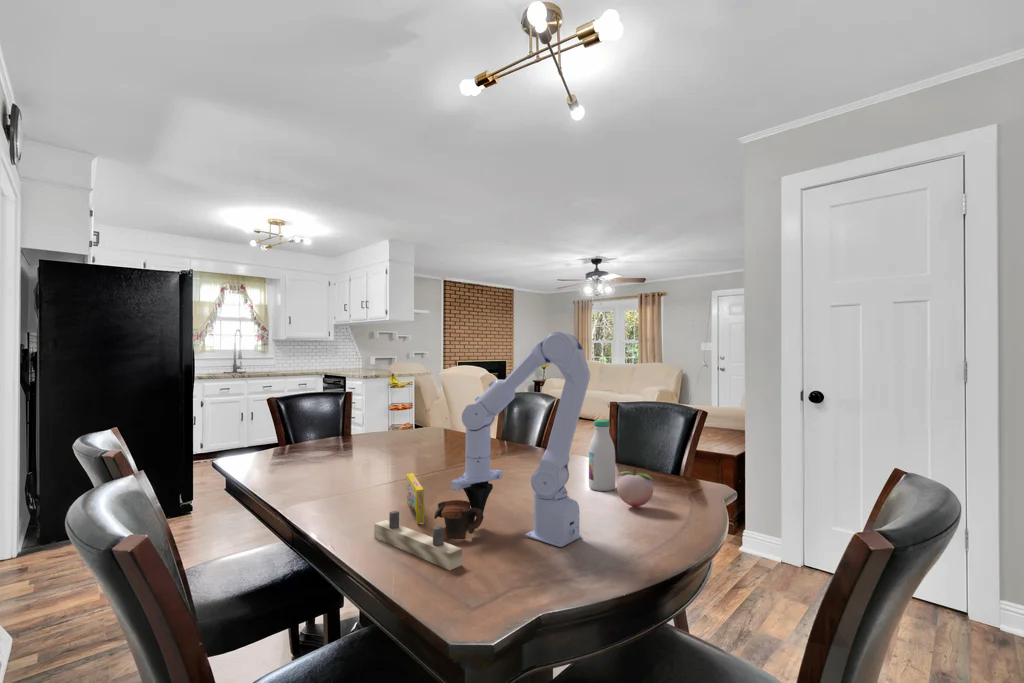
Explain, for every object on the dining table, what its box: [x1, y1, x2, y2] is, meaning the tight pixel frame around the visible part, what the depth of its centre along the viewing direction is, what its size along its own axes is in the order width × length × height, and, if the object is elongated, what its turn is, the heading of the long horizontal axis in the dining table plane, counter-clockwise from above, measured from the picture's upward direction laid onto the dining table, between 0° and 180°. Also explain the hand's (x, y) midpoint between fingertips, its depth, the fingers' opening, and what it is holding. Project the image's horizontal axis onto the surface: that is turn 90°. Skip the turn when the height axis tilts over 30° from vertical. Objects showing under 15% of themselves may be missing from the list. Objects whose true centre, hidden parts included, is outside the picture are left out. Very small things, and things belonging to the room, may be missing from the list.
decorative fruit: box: [616, 468, 655, 509], centre depth 123 cm, size 9×8×10 cm
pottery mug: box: [433, 499, 485, 541], centre depth 105 cm, size 12×10×8 cm
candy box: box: [405, 472, 426, 525], centre depth 118 cm, size 16×2×8 cm, turn 21°
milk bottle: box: [588, 419, 616, 492], centre depth 142 cm, size 8×8×20 cm
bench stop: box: [373, 510, 463, 571], centre depth 96 cm, size 24×3×6 cm, turn 49°
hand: (477, 516), depth 109 cm, fingers closed
